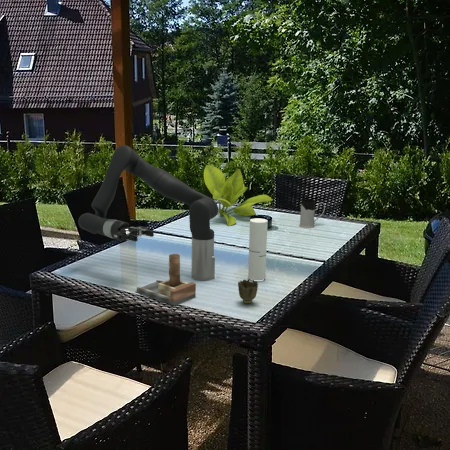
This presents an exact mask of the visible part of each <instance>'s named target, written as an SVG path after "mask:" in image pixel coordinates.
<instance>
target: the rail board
mask: <svg viewBox="0 0 450 450" xmlns="http://www.w3.org/2000/svg"><path fill="white" fill-rule="evenodd" d="M162 282H164V280H161V279H156V280H155V282H151V283H149V284H146V285H144V286H139V285H138V286H136V294H139V295H143V296H146V297H148V298H150V299H154V300H156V301H159V302H162V303H164V302H165V303H164V304H167V303H168V305H170V306H174V307H176V306H178V305H181V304H182V303H185V302H187V301H189V300H192V299H194V298H196V295H197V294H196V293H197V292H196V289H197V286H196V285H197V283H195V282H192V281H191V282H187V283H188V284H186V285H183V286H181V287H178V288H176V289H173V290H170V297H168V296H165V295H162V294H159V293H158V284H159V283H162ZM175 305H176V306H175Z"/></svg>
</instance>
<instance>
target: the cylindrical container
mask: <svg viewBox="0 0 450 450" xmlns="http://www.w3.org/2000/svg"><path fill="white" fill-rule="evenodd" d="M248 236H249V238H248V239H249V241H248V265H247V267H248V269H247V270H248V272H247V279H248V278H249V279H252V280H263V279H265V280H266V270H267V269H266V268H267V266H266V265H267V249H268V248H267V246H268V245H267V243H268V220H267V219H265V218H258V217H257V218H256V217H255V218H250V220H249V235H248ZM249 279H248V280H249Z"/></svg>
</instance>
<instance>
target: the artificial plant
mask: <svg viewBox="0 0 450 450" xmlns="http://www.w3.org/2000/svg"><path fill="white" fill-rule="evenodd" d="M203 180H204V184H205V186H206V188H207V189H208V191H209V192H210V194H211V195H212V199H213V200H217V201H218V214H219V217H220V218H222V217H224V218H225V220H226V224H227V226H228V227H230V226H233V225H235V224H236V223H237V219H236V217H234V216H232V215H231V214H236V215H240V216H245V217H246V216H247V217H250V216H254V215H257V213H256V211H255V209H254V207H252V206H253V205H255V204H260V203H266V202H272V201H273V200H274V199H273V198H271V197H270V196H269V195H267V194H260V195H255V196H253V197H250V198H247V199H246V200H244V201H243V202H242V203H240V204H238V205H237V206H235V207H233V205H235V203H236V202H237V200H238V199H239V198H240V197H241V196H242V195H243V194H244V193H245V192H246V191H247V190H248V188H249V187H248V186H245V184H244V178H243V174H242V171H241V169H240V168H238V169H236V170H235V171H234V173H233V174H232V175H230V176H229V177H228V178H227V179H226V177H225V174H224V173H223V172H222V170H221V169H220V168H218V167H215V166H213V165H209V164H207V165H205V167H204V170H203ZM221 206H222V207H221ZM228 208H230V209H228Z"/></svg>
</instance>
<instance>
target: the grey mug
mask: <svg viewBox="0 0 450 450" xmlns="http://www.w3.org/2000/svg"><path fill="white" fill-rule="evenodd" d="M321 204H323V206H324V207H323V211H322V213H321V214H320V215H319V216H318V217H316V219H315V213H316V211H317V210H318V209H319V205H321ZM325 210H326V204H325V203H324V202H318V204H317V207H316V199H313V198H312V199H310V198H303V199H301V204H300V218H299V222H300V223H299V225H298V227H300V228H304V229H312V228H315V227H316V226H315V223H316V221H317V220H318V219H320V218H321V217H322V216H323V214H324V213H325Z"/></svg>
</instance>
